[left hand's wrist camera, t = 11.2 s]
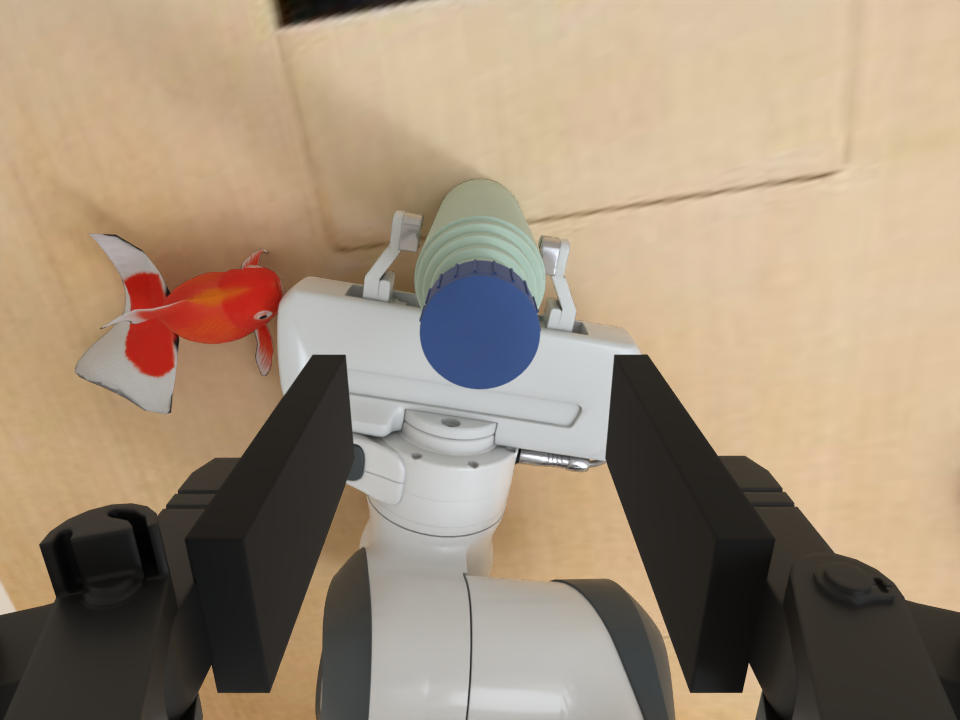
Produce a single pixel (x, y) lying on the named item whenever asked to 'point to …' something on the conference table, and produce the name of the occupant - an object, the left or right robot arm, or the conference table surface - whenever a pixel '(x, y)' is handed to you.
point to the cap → (479, 325)
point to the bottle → (479, 237)
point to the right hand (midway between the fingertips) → (482, 226)
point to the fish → (176, 323)
